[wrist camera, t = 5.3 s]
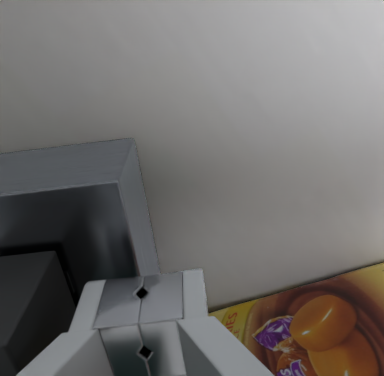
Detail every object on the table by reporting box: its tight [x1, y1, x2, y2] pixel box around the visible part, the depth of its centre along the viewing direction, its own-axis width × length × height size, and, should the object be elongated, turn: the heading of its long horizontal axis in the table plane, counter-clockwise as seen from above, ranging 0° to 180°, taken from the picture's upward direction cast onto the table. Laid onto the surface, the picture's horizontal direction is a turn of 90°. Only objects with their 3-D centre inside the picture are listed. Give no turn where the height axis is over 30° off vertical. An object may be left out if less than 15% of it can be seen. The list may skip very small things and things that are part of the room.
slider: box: [0, 251, 76, 376], centre depth 8 cm, size 2×3×3 cm
